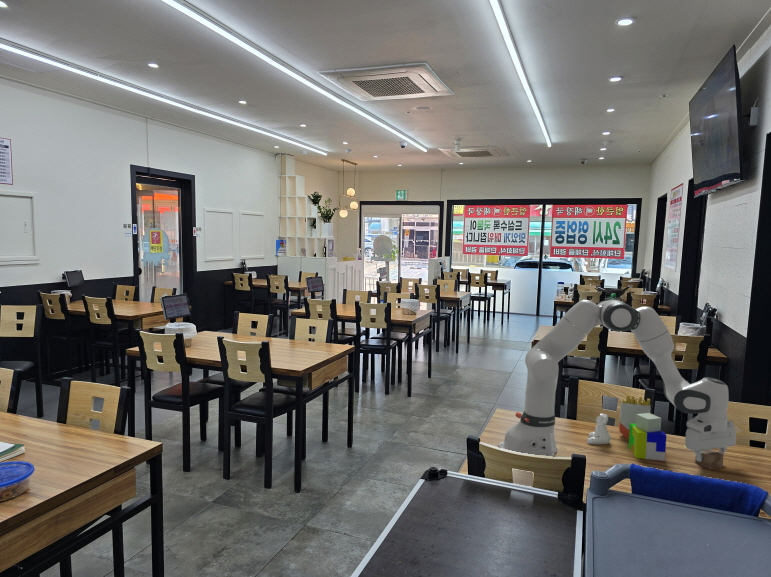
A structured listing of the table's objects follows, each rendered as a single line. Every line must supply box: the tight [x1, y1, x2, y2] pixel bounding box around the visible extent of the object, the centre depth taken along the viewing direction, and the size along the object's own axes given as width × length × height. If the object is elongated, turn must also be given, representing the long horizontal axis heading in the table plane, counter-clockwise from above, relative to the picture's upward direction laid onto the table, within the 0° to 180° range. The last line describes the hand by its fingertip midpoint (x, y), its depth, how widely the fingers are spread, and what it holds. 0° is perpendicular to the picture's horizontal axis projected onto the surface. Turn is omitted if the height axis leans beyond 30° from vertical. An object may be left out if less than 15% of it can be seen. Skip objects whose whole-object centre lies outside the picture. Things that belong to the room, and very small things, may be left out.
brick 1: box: [636, 412, 662, 432], centre depth 192 cm, size 6×6×5 cm
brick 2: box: [694, 449, 725, 471], centre depth 184 cm, size 6×6×5 cm
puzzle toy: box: [628, 423, 667, 462], centre depth 193 cm, size 10×10×10 cm
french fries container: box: [618, 394, 652, 440], centre depth 209 cm, size 5×11×18 cm, turn 68°
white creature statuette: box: [586, 413, 612, 445], centre depth 204 cm, size 10×9×12 cm
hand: (709, 459), depth 184 cm, fingers open, 8 cm apart
